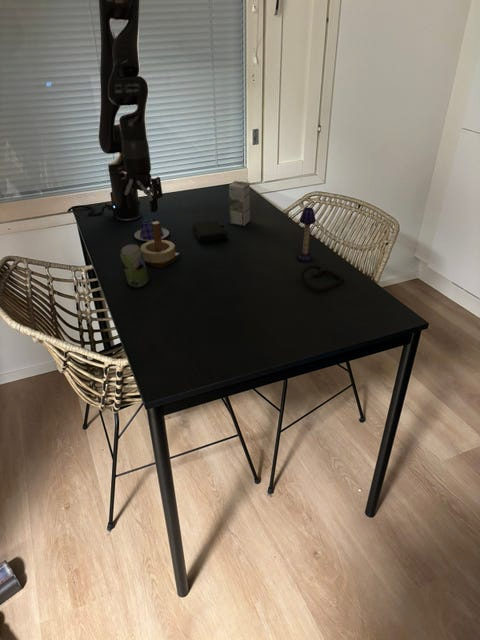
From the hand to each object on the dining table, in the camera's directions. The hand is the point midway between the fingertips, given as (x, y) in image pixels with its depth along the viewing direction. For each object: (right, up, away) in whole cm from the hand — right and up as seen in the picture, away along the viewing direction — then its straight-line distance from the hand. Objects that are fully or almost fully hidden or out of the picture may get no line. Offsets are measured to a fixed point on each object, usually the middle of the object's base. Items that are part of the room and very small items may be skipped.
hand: (142, 209), depth 149 cm
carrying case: (+19, -4, +23) cm, 30 cm away
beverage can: (0, -23, -6) cm, 24 cm away
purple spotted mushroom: (+50, -15, +6) cm, 52 cm away
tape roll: (+4, -13, +6) cm, 15 cm away
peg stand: (+4, -15, +7) cm, 17 cm away
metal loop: (+52, -23, -6) cm, 58 cm away
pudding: (-1, -4, +23) cm, 23 cm away
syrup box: (+29, +2, +32) cm, 44 cm away
